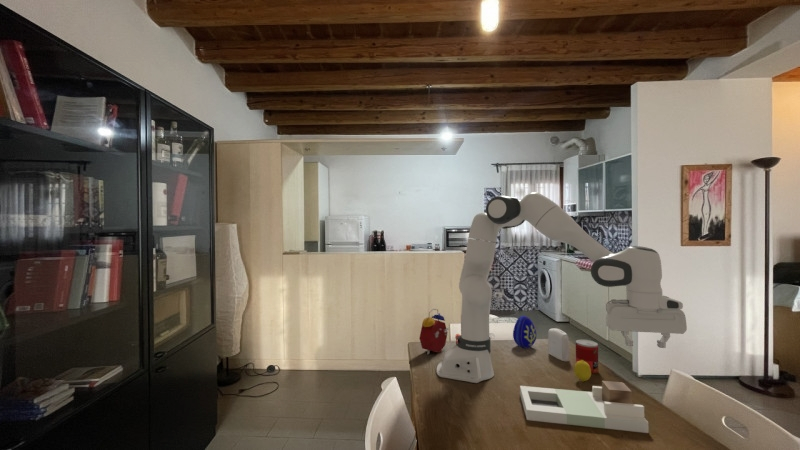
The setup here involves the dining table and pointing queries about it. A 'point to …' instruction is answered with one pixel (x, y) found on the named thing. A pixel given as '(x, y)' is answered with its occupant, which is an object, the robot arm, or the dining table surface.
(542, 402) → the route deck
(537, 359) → the dining table surface
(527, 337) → the ornament
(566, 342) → the white rounded block
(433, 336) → the alarm clock
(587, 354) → the canned food
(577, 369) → the lemon
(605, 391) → the walnut block
